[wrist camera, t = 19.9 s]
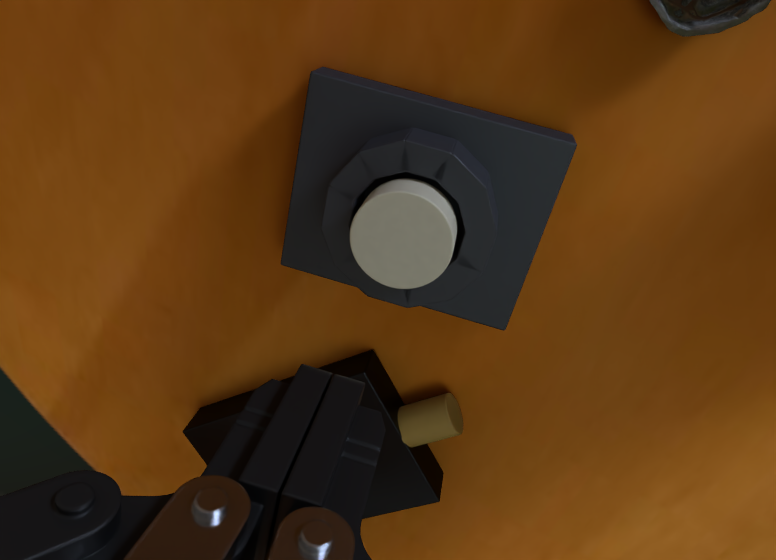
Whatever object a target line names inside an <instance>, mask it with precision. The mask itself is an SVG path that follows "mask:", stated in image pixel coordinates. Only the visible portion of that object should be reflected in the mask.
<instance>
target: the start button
mask: <svg viewBox="0 0 776 560" xmlns="http://www.w3.org/2000/svg"><path fill="white" fill-rule="evenodd" d="M456 236H457V219H456V215H455V212H454V209H453V207H452V205H451V203H450V202H449V200H448V199H447V198H446V197H445V195H444V194H443V193H442V192H441V191H439V190H438V189H437V188H435V187H434V186H432V185H430V184H428V183H426V182H424V181H421V180H417V179H411V178H400V179H394V180H391V181H387V182H385V183H383V184H381V185H380V186H378V187H377V188H375V189H374V190H373V191H372V192H371V193H370V194H369V195H368V197H367V198H366V199H365V201H364V202H363V204H362V205H361V207H360V208H359V210H358V211H357V213H356V214H355V216H354V218H353V221H352V224H351V227H350V246H351V250H352V253H353V255H354V258H355V260H356V261H357V263H358V265H359V266H360V267H361V269H362V270H363V271H364V272H365V273H366V274H367V275H368V276H370V277H371V278H372V279H374V280H375V281H377V282H379V283H381V284H383V285H386V286H388V287H392V288H398V289H412V288H417V287H421V286H424V285H426V284H429V283H430V282H432V281H434V280H435V279H436V278H438V277H439V276H440V275H441V274H442V273H443V272H444V270H445V269H446V268H447V266H448V264H449V263H450V260H451V258H452V254H453V250H454V245H455V241H456Z"/></svg>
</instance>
